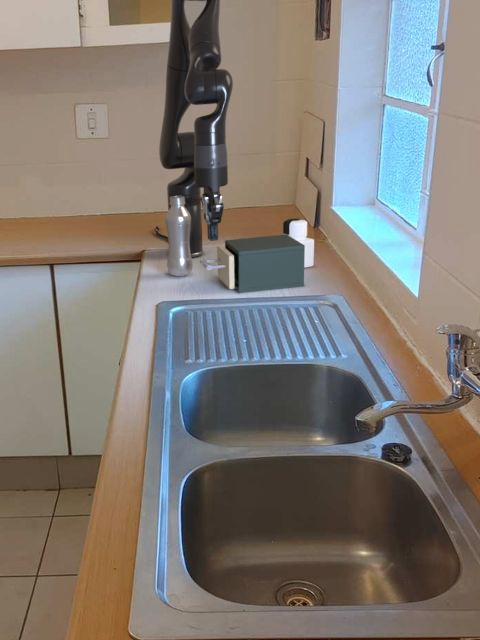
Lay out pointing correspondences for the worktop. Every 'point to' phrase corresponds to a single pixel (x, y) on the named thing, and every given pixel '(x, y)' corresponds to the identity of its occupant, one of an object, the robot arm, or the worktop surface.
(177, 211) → the silver metal bottle
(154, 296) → the worktop surface
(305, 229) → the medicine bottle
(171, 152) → the robot arm
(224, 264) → the drawer
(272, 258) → the cabinet
